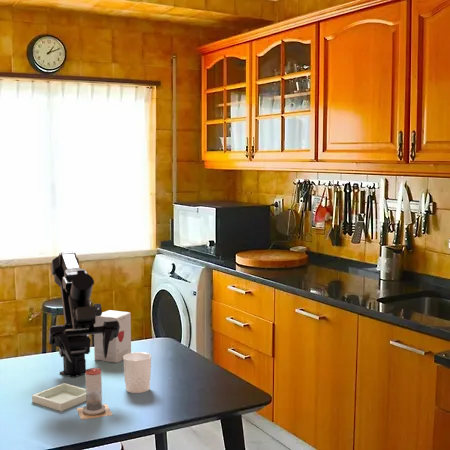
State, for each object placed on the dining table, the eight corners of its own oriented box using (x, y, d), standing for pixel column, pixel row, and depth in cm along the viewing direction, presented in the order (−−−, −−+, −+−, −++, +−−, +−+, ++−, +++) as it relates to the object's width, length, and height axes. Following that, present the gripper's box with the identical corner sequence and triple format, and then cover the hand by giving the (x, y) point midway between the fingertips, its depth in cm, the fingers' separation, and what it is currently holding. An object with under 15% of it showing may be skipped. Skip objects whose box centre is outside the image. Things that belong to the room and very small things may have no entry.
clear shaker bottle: (78, 412, 170) (77, 371, 169) (94, 405, 175) (93, 365, 173) (94, 417, 167) (93, 375, 166) (109, 410, 172) (108, 369, 170)
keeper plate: (76, 410, 173) (76, 408, 173) (106, 405, 176) (106, 403, 176) (81, 421, 166) (81, 419, 166) (112, 416, 169) (112, 414, 169)
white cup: (129, 397, 182) (128, 362, 181) (120, 388, 189) (119, 354, 188) (155, 392, 186) (155, 358, 185) (145, 383, 193) (145, 350, 192)
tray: (32, 403, 177) (32, 395, 177) (64, 391, 187) (64, 383, 187) (61, 412, 171) (61, 404, 171) (93, 399, 180) (93, 391, 180)
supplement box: (116, 363, 211) (115, 318, 210) (93, 359, 215) (92, 315, 214) (132, 355, 220) (131, 312, 218) (110, 352, 223) (109, 309, 222)
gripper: (48, 296, 175) (55, 348, 166) (117, 291, 182) (127, 340, 173) (46, 319, 183) (52, 369, 174) (112, 312, 190) (121, 360, 181)
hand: (88, 359), depth 176 cm, fingers open, 9 cm apart
